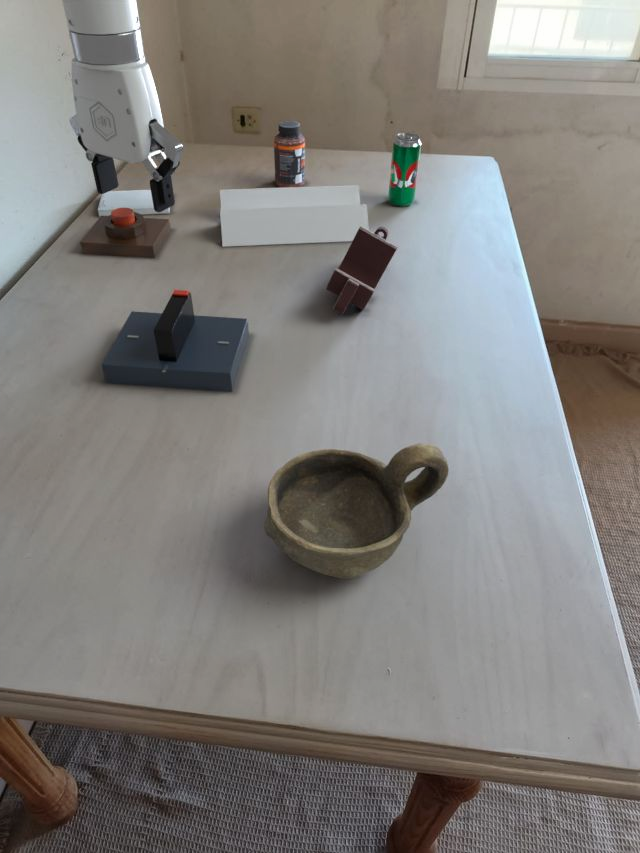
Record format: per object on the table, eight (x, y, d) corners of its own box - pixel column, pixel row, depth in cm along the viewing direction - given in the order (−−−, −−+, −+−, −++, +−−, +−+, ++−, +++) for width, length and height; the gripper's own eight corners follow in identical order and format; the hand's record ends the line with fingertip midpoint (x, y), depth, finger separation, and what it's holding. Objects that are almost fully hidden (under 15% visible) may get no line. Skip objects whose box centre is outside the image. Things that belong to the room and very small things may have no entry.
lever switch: (104, 386, 78) (98, 366, 76) (136, 327, 88) (132, 307, 86) (231, 395, 77) (229, 375, 75) (249, 334, 87) (248, 315, 85)
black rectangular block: (176, 361, 77) (171, 329, 74) (159, 360, 77) (152, 328, 74) (195, 321, 84) (190, 289, 80) (178, 320, 84) (173, 288, 80)
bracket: (316, 304, 88) (349, 240, 82) (341, 269, 102) (370, 213, 96) (355, 325, 88) (389, 263, 82) (374, 287, 102) (404, 233, 97)
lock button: (110, 226, 102) (107, 216, 101) (117, 217, 105) (115, 206, 104) (131, 227, 102) (129, 217, 101) (138, 218, 105) (136, 208, 104)
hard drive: (97, 209, 112) (168, 205, 113) (102, 190, 118) (169, 187, 119) (99, 218, 113) (169, 214, 114) (104, 199, 119) (171, 195, 120)
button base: (83, 254, 103) (77, 231, 100) (103, 227, 110) (98, 205, 107) (154, 258, 102) (150, 235, 99) (171, 231, 109) (167, 208, 107)
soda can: (414, 197, 121) (422, 132, 113) (413, 209, 117) (421, 142, 109) (388, 196, 122) (394, 130, 113) (386, 206, 118) (392, 140, 110)
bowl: (254, 496, 65) (248, 426, 59) (412, 468, 69) (423, 399, 62) (280, 611, 56) (276, 544, 49) (462, 572, 59) (483, 504, 52)
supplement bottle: (307, 188, 123) (308, 128, 116) (278, 191, 122) (276, 130, 115) (301, 177, 128) (301, 117, 120) (272, 179, 127) (270, 119, 119)
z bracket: (363, 251, 114) (369, 240, 107) (224, 257, 111) (222, 246, 105) (358, 185, 114) (364, 170, 108) (220, 190, 112) (217, 175, 105)
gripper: (27, 42, 70) (66, 193, 82) (143, 66, 64) (167, 227, 75) (78, 30, 75) (108, 175, 86) (191, 52, 68) (207, 205, 80)
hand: (136, 199), depth 81 cm, fingers open, 9 cm apart
